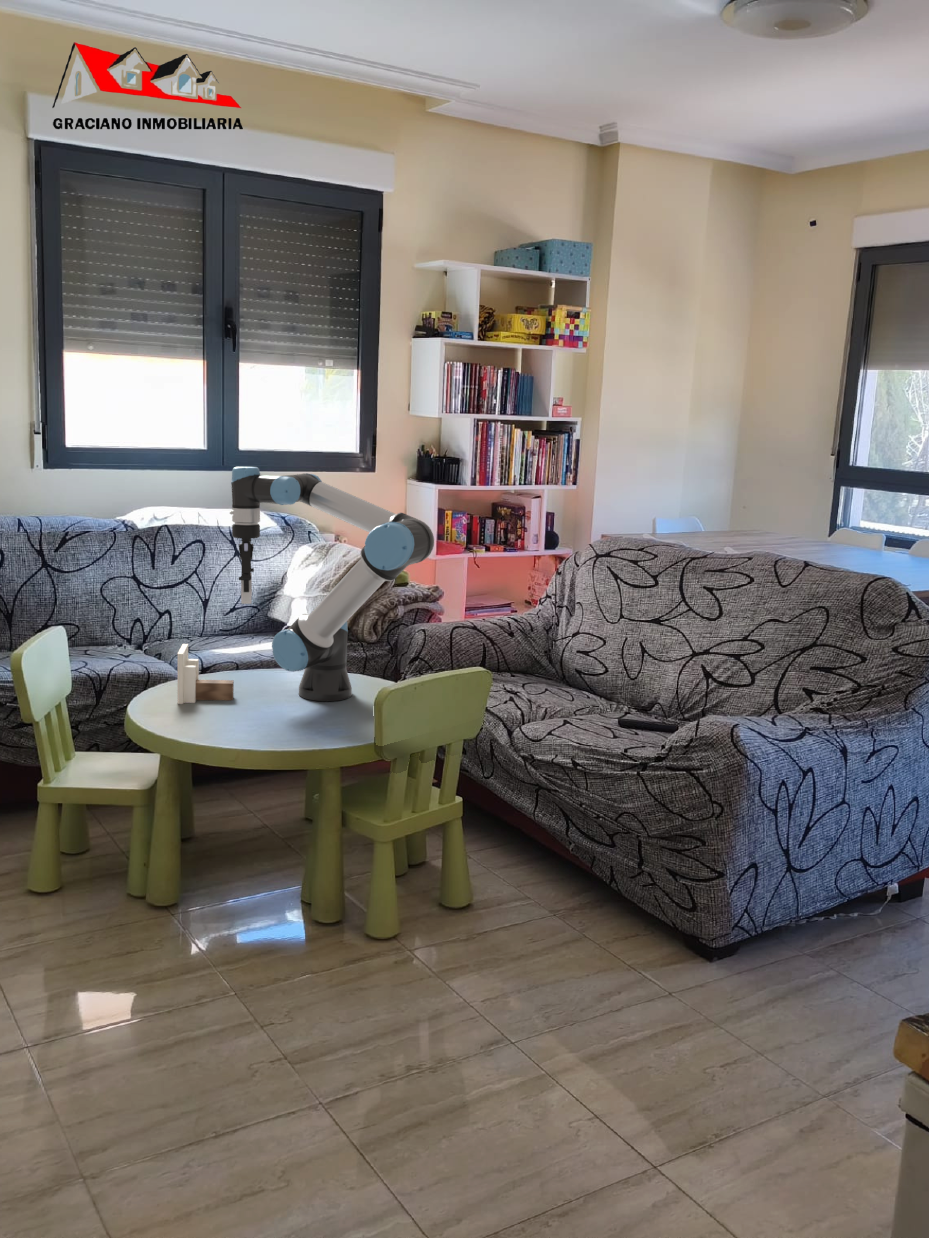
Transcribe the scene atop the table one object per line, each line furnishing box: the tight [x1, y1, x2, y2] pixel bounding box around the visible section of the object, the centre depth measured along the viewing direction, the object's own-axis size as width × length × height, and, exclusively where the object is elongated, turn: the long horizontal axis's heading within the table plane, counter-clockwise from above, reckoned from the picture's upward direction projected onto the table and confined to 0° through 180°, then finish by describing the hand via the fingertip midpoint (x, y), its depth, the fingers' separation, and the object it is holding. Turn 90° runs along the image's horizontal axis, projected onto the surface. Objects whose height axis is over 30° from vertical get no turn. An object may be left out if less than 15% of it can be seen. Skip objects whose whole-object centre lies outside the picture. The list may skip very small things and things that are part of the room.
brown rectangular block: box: [196, 679, 235, 701], centre depth 303 cm, size 12×4×5 cm, turn 97°
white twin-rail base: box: [177, 643, 200, 705], centre depth 301 cm, size 4×12×14 cm, turn 8°
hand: (246, 599), depth 304 cm, fingers open, 13 cm apart
